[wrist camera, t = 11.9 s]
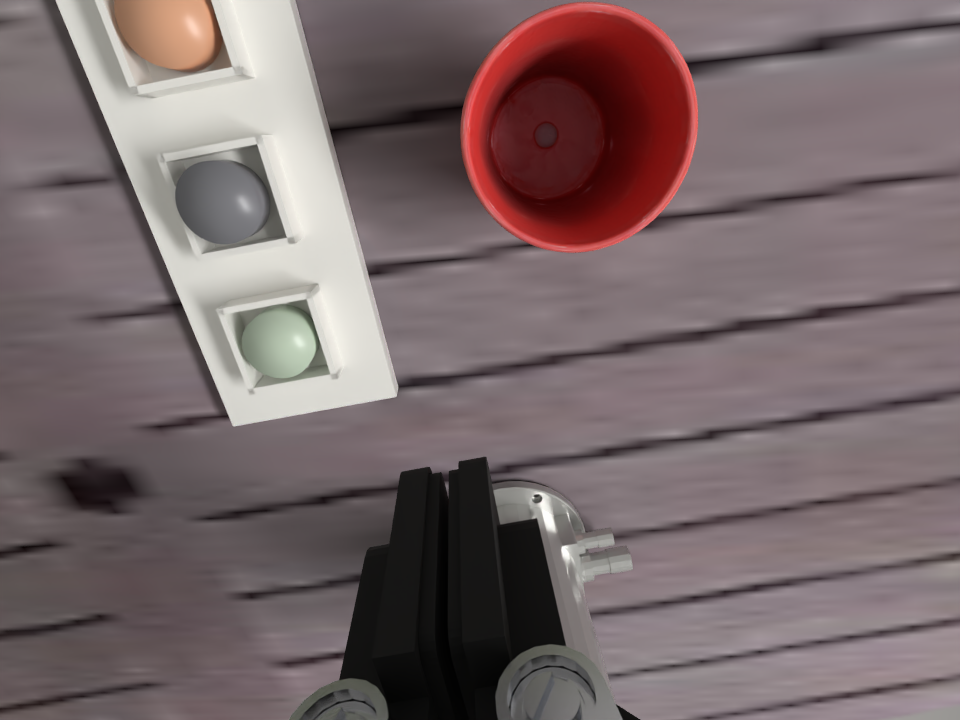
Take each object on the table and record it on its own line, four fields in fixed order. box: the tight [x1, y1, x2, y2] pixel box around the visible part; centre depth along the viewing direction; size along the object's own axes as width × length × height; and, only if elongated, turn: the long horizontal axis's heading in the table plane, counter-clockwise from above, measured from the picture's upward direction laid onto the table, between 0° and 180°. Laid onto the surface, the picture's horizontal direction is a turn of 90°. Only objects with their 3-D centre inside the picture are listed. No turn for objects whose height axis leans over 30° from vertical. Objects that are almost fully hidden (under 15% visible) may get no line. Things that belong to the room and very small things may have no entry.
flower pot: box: [460, 2, 698, 253], centre depth 28 cm, size 11×11×10 cm
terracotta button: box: [114, 0, 223, 72], centre depth 27 cm, size 4×4×2 cm
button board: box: [56, 0, 398, 427], centre depth 32 cm, size 12×30×4 cm, turn 10°
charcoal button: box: [175, 160, 270, 245], centre depth 30 cm, size 4×4×2 cm
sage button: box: [242, 304, 320, 378], centre depth 34 cm, size 4×4×2 cm
